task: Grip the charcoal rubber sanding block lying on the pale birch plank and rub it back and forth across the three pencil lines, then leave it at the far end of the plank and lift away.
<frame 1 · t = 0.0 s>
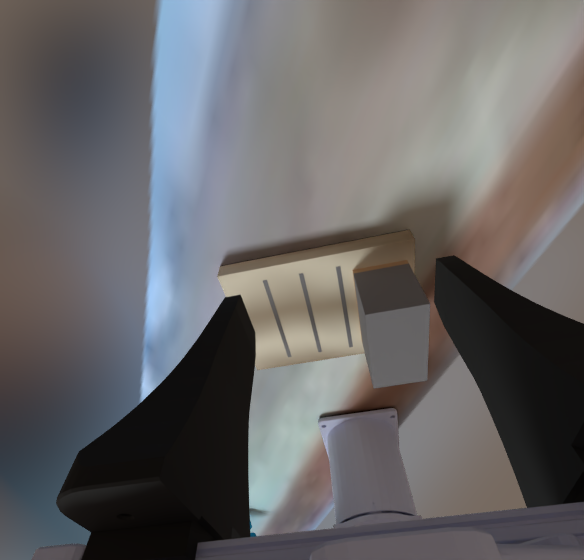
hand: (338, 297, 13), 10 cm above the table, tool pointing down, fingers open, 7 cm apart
plank: (323, 303, 26), on the table
sanding block: (382, 304, 25), point 1 cm above the table, touching plank
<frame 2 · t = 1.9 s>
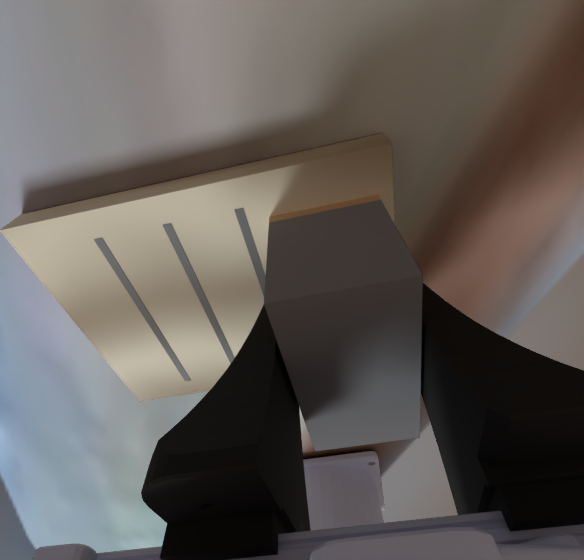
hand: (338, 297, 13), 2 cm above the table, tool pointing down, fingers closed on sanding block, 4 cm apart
plank: (235, 288, 15), on the table
sanding block: (336, 287, 13), point 1 cm above the table, touching gripper, plank
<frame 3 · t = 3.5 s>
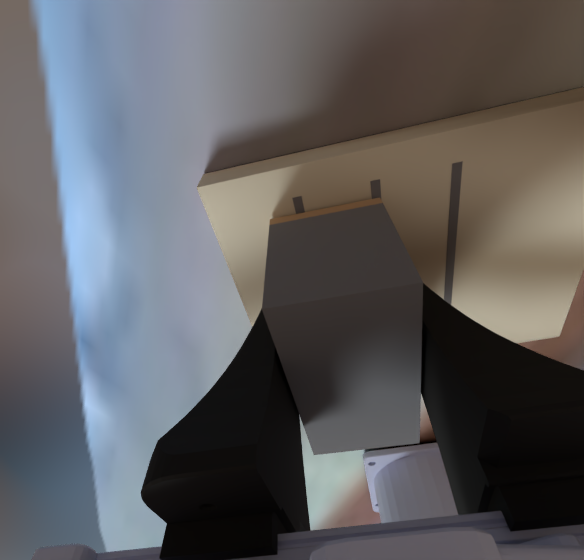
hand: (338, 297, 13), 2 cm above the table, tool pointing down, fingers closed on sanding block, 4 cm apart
plank: (400, 257, 14), on the table
sanding block: (337, 290, 13), point 1 cm above the table, touching gripper
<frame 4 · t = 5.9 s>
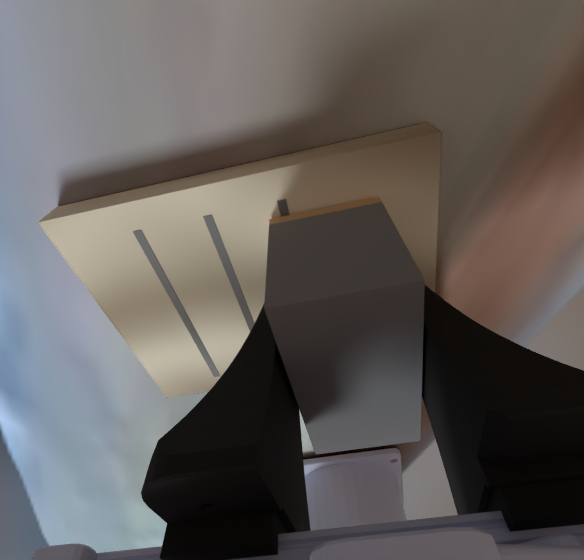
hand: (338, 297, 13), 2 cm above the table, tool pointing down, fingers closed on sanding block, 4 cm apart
plank: (268, 282, 15), on the table
sanding block: (337, 289, 13), point 1 cm above the table, touching gripper
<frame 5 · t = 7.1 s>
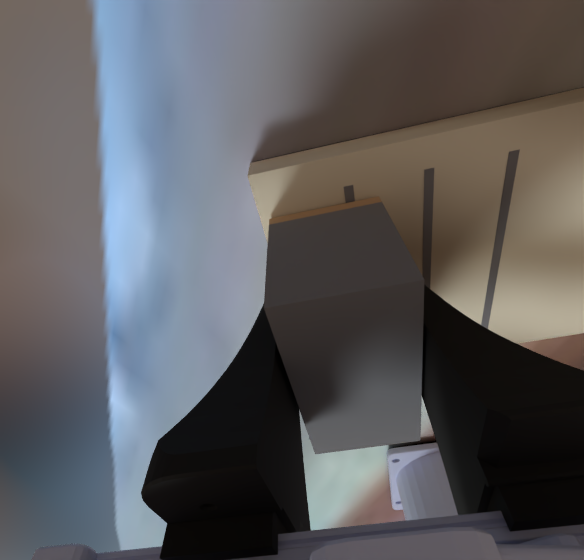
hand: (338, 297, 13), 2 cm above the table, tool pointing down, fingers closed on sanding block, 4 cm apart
plank: (441, 249, 14), on the table
sanding block: (337, 289, 13), point 1 cm above the table, touching gripper
when the fingers open (2 cm above the table, at t = 8.1 s): sanding block stays where it is, resting on plank.
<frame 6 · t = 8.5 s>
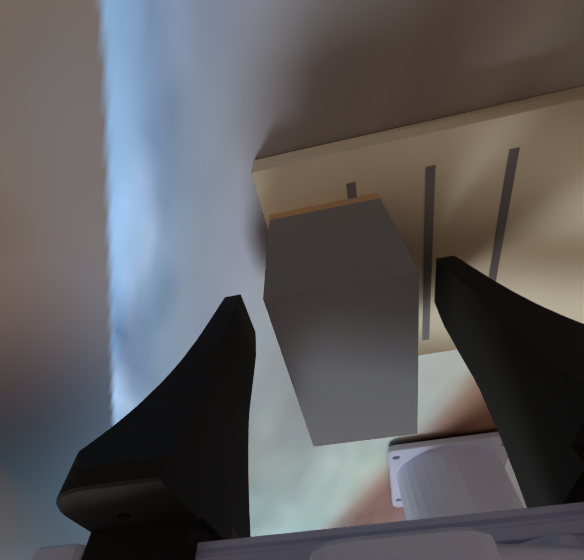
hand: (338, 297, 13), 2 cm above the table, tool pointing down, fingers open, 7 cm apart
plank: (442, 246, 14), on the table
sanding block: (336, 285, 14), point 1 cm above the table, touching plank
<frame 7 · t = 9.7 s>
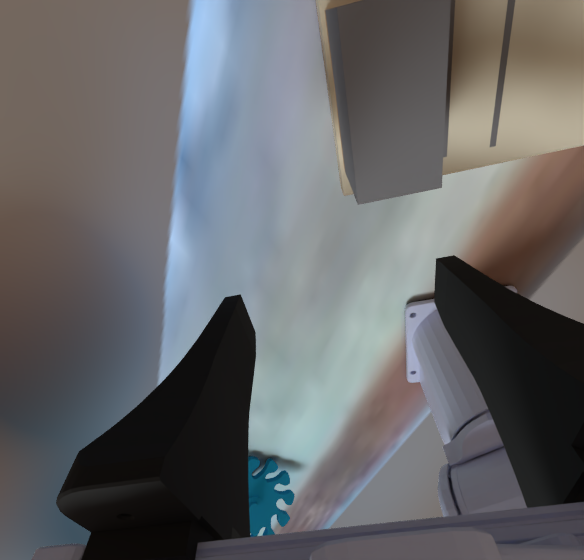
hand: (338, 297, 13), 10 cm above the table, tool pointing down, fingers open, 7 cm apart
plank: (459, 64, 17), on the table
gear: (249, 465, 42), on the table
sanding block: (372, 91, 17), point 1 cm above the table, touching plank
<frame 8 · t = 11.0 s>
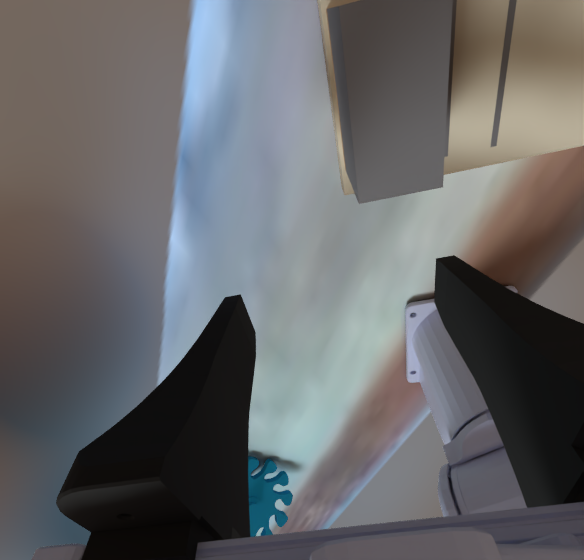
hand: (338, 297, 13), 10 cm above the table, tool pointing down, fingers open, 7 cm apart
plank: (460, 64, 17), on the table
gear: (248, 465, 42), on the table
sanding block: (374, 90, 17), point 1 cm above the table, touching plank
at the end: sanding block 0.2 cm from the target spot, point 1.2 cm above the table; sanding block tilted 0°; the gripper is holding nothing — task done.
